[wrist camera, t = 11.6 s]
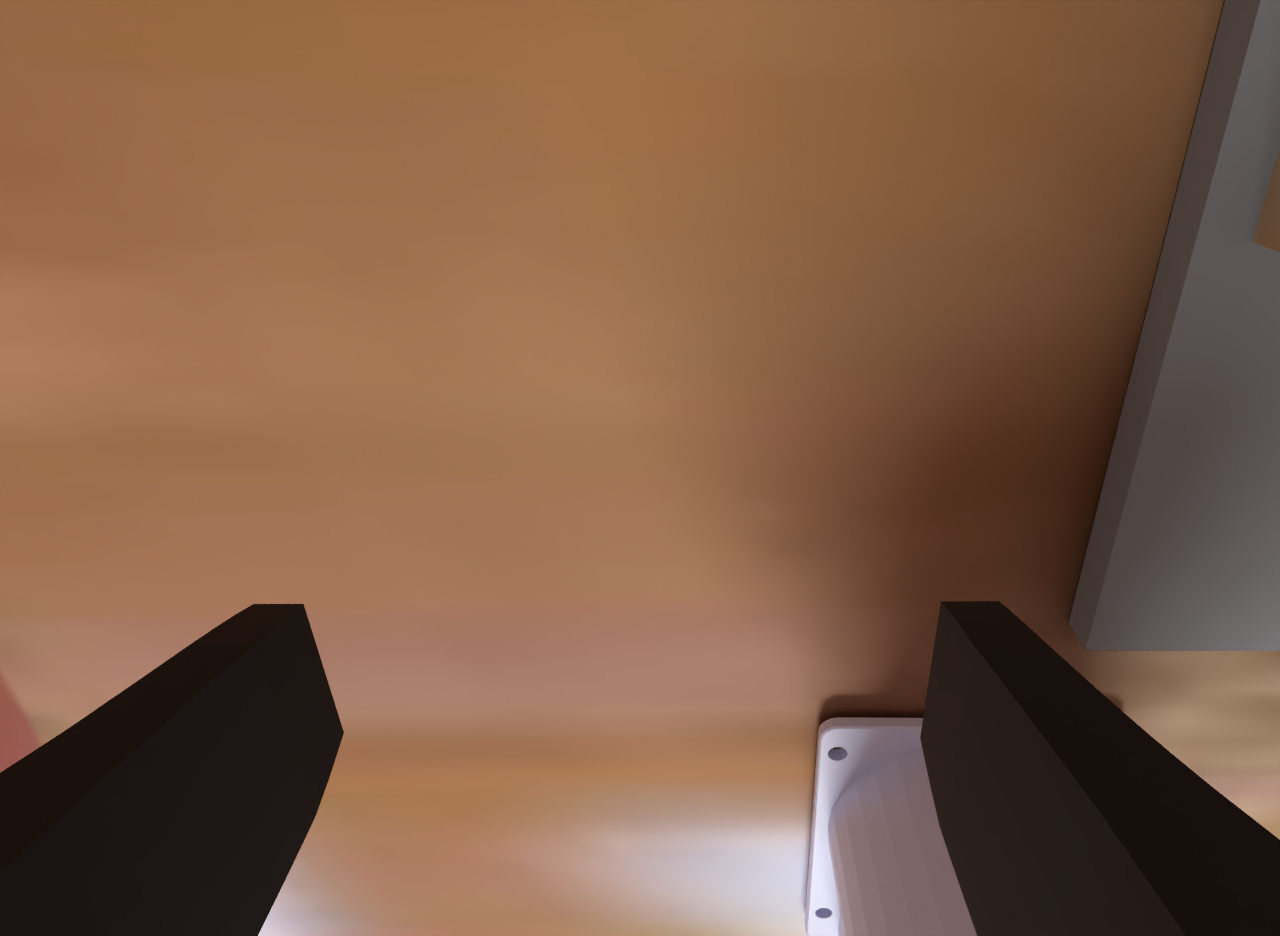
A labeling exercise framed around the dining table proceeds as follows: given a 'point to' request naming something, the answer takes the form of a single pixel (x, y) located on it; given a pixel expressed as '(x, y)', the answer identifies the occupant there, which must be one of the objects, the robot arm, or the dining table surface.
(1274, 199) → the maple block
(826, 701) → the dining table surface
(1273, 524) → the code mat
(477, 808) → the dining table surface
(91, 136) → the dining table surface
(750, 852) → the dining table surface
